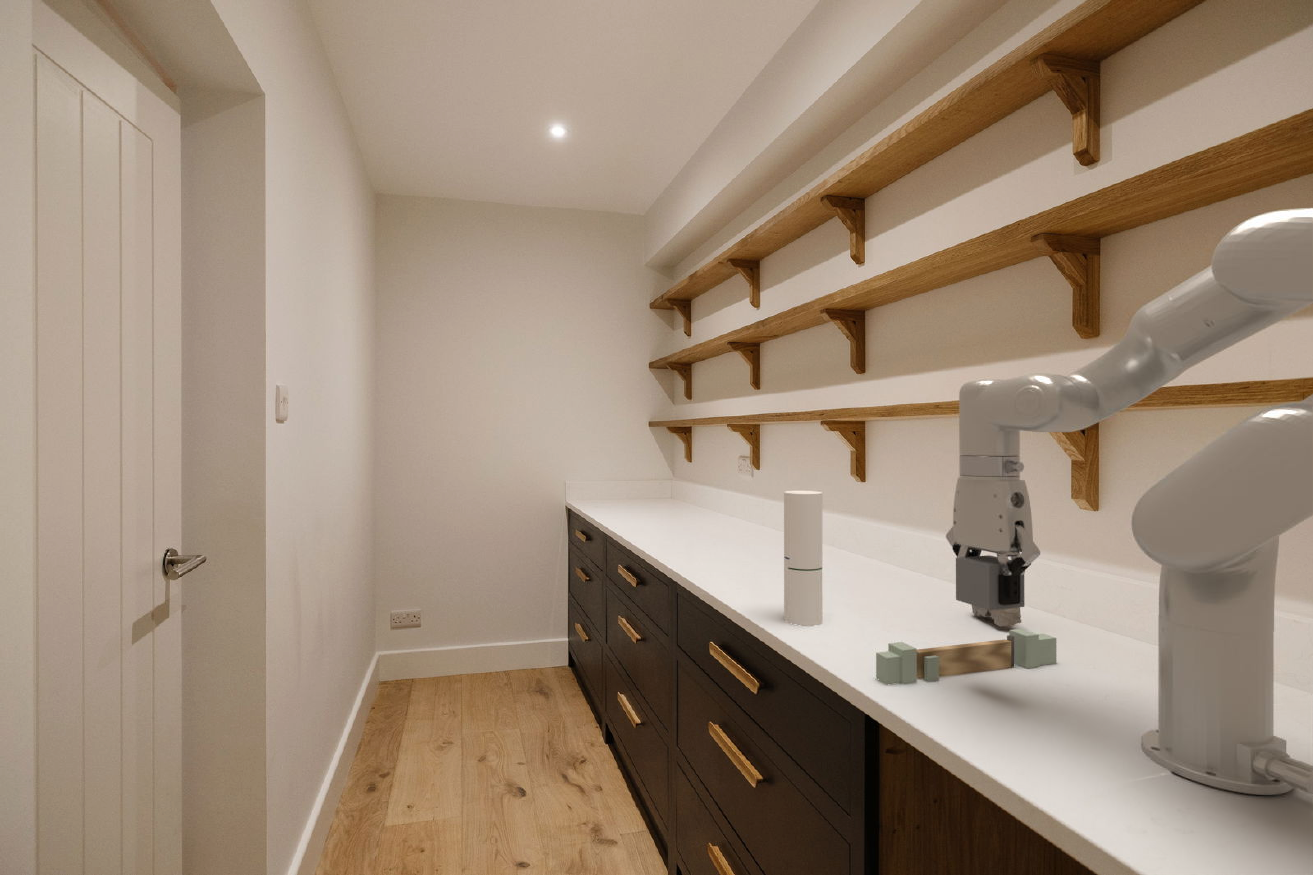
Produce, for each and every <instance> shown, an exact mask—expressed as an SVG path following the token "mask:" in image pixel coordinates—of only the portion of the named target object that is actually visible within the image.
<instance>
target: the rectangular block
mask: <svg viewBox="0 0 1313 875" xmlns="http://www.w3.org/2000/svg"><path fill="white" fill-rule="evenodd" d="M1008 560H1009V563H1011V562H1012V560H1011V559H1009V558H1008ZM998 575H1002V571H1001V567H1000V564H999V561H998V558H997V556H995V555H990V554H989V555H980V556H972V557H959V558H957V557H955V600H956V601H958V602H961V603H964V604H968V605H971V606H972V605H974V606H977V607H980V608H983V609H986V610H999V609H1008V608H1018V607H1020V608H1025V573H1024V574H1023V575H1020V599H1021V601H1020V603H1019V604H1012V605H1001V604H999V592H998Z"/></svg>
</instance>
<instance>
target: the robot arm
mask: <svg viewBox="0 0 1313 875" xmlns="http://www.w3.org/2000/svg"><path fill="white" fill-rule="evenodd" d="M1311 305H1313V207H1304V208H1302V207H1300V208H1299V207H1298V208H1288V209H1279V210H1273V211H1268V212H1265V213H1262V214H1258V215H1255V216H1253V217H1250V218H1248V219H1246V220H1244V221H1242V222H1241V223H1239V224H1238V225H1236V226H1234V227H1233V228H1232V229H1231V230H1230V231H1229V232H1227V234H1225V235H1224V236H1223V237H1222V239H1221V240H1220V241H1219V243H1218V244H1217V245H1216V247H1215V249H1214V251H1213V254H1212V257H1211V265H1209V266H1208V267H1206V268H1205V269H1203V270H1201V271H1199V272H1197V273H1196V274H1194V275H1193V276H1191V277H1189V278H1188V279H1187V280H1184V281H1182V282H1181V283H1180V284H1178V285H1176V286H1175V287H1173V288H1171V289H1170V290H1168V291H1166V292H1165V293H1163V294H1162V295H1160V296H1158V297H1156V298H1155V299H1152V300H1151V301H1149V302H1147V303H1146V304H1145V305H1143V306H1141V307H1140V308H1139V309H1138V310H1137V311H1136V312H1135V313H1134V315H1133V317H1132V318H1131V321H1130V324H1129V325H1128V328H1127V331H1126V333H1125V334H1124V335H1123V337H1122V338H1121V339H1120V340H1119V342H1117V344H1115V345H1114V346H1113V347H1112V348H1110V349H1109V350H1108V351H1106V352H1105V353H1104V354H1102V355H1100V357H1097V358H1096V359H1094V360H1092V361H1091V362H1089V363H1087V364H1086V365H1084V366H1082V367H1081V368H1078V369H1077V370H1075V371H1074V372H1072V373H1070V374H1067V375H1063V374H1062V375H1061V374H1051V373H1050V374H1049V373H1033V374H1027V375H1021V376H1018V377H1012V378H1008V379H981V380H979V379H978V380H972V381H967V382H965V383H964V384H963V385H962V386H961V387H960V389H959V394H958V408H959V410H958V413H959V414H958V415H959V416H958V419H959V422H958V426H959V428H958V429H959V430H958V431H959V432H958V435H959V438H958V439H959V442H958V443H959V446H958V447H959V452H958V453H959V457H958V458H959V459H958V460H959V461H958V462H959V464H958V465H959V468H958V469H959V476H958V477H957V480H956V481H957V482H956V485H955V492H954V500H953V509H952V510H953V512H952V513H953V514H952V516H953V517H952V527H951V528H950V529H949V530H948V531H947V533H946V534H945V539H946V540H947V542H948V543H949V545H950V546H951V547H952V548H951V550H952V551H953V553H954V555H955V556H956V558H959V557H972V556H981V553H982V551H984V552H989V553H993V554H995V555H996V557H997V558H998V561H999V564H1000V567H1001V571H1002V575H998V592H999V604H1001V605H1012V604H1019V603H1020V601H1021V599H1020V575H1023V574H1024V575H1025V572H1026V570H1027V569H1028V568H1029V567H1030V566H1031V565H1032V563H1033V562H1035V561H1036V560H1037V559H1038V558H1039V556H1041V550H1040V548H1039V547H1038V546H1037V545H1036V543H1035V542H1034V534H1033V532H1034V531H1033V519H1032V510H1031V502H1030V496H1029V492H1028V488H1027V484H1026V480H1024V479H1021V472H1023V471H1024V468H1025V465H1024V463H1023V462H1022V461H1021V456H1020V453H1021V450H1020V449H1021V447H1020V446H1021V444H1020V443H1021V438H1020V437H1021V436H1020V434H1021V432H1020V431H1025V432H1032V433H1073V432H1076V431H1077V432H1078V431H1082V430H1084V429H1086V428H1089V427H1091V426H1093V425H1095V424H1098V423H1100V422H1101V421H1103V420H1105V419H1107V418H1109V417H1111V416H1113V415H1116V414H1118V413H1120V412H1121V411H1123V410H1126V409H1128V408H1129V407H1131V406H1132V405H1135V404H1136V403H1138V402H1140V401H1142V400H1143V399H1145V398H1147V397H1148V396H1150V395H1151V394H1153V393H1154V392H1156V391H1157V390H1159V389H1160V388H1163V387H1164V386H1165V385H1167V384H1168V383H1170V382H1173V381H1174V380H1175V379H1177V378H1178V377H1180V375H1182V374H1184V372H1186V371H1187V370H1189V369H1190V368H1192V367H1194V366H1197V365H1198V364H1200V363H1202V362H1204V361H1206V360H1207V359H1210V358H1211V357H1213V356H1215V355H1217V354H1219V353H1220V352H1222V351H1225V350H1227V349H1229V348H1230V347H1233V346H1234V345H1236V344H1238V343H1240V342H1242V341H1244V340H1247V339H1248V338H1250V337H1252V336H1254V335H1255V334H1257V333H1259V332H1261V331H1263V330H1265V329H1267V328H1269V327H1272V326H1273V325H1275V324H1277V323H1279V322H1280V321H1283V320H1284V319H1287V318H1289V317H1290V316H1293V315H1294V314H1296V313H1298V312H1300V311H1302V310H1303V309H1306V308H1307V307H1310V306H1311ZM1312 516H1313V393H1312V394H1311V395H1309V396H1307V397H1306V398H1304V399H1303V400H1301V401H1294V402H1292V401H1291V402H1285V403H1279V404H1276V405H1275V404H1274V405H1272V406H1269V407H1267V408H1263V409H1261V410H1259V411H1256V412H1255V413H1253V414H1251V415H1249V416H1247V417H1246V418H1245V419H1242V420H1241V421H1239V422H1238V423H1236V424H1235V425H1234V426H1232V427H1231V428H1230V429H1228V430H1226V432H1224V433H1223V434H1221V435H1220V436H1219V437H1217V438H1216V439H1215V440H1213V441H1212V442H1210V443H1209V444H1207V446H1205V447H1203V448H1202V449H1201V450H1200V451H1198V452H1197V453H1195V454H1194V455H1193V456H1191V457H1190V458H1189V459H1188V460H1186V461H1185V462H1183V463H1182V464H1180V465H1179V466H1178V467H1176V468H1175V469H1174V470H1172V471H1171V472H1170V473H1168V474H1166V475H1165V476H1164V477H1163V478H1162V479H1160V480H1159V481H1157V482H1156V483H1155V484H1153V486H1151V487H1150V488H1149V489H1147V491H1145V492H1144V493H1143V494H1142V495H1141V497H1140V498H1139V499H1138V501H1137V502H1136V504H1135V506H1134V508H1133V511H1132V515H1131V530H1132V535H1133V537H1134V540H1135V542H1136V544H1137V546H1138V547H1139V548H1140V550H1141V551H1142V553H1144V554H1145V555H1146V556H1147V557H1148V558H1149V559H1151V560H1152V561H1154V562H1156V563H1157V564H1159V565H1161V568H1160V574H1159V588H1158V615H1157V616H1158V619H1157V620H1158V622H1157V623H1158V631H1157V632H1158V635H1157V637H1158V640H1157V641H1158V643H1157V644H1158V646H1157V647H1158V648H1157V649H1158V652H1157V654H1158V657H1157V658H1158V659H1157V660H1158V661H1157V662H1158V666H1157V667H1158V668H1157V669H1158V671H1157V672H1158V675H1157V676H1158V678H1157V679H1158V685H1157V687H1158V708H1157V709H1158V710H1157V711H1158V729H1154V730H1153V729H1152V730H1149V731H1147V732H1145V733H1143V734H1142V736H1141V740H1140V741H1141V745H1140V747H1141V750H1142V752H1143V753H1144V754H1145V756H1147V757H1148V758H1149V759H1150V760H1151V761H1152V762H1154V763H1156V764H1157V765H1159V766H1161V767H1162V768H1164V769H1166V770H1168V771H1171V773H1174V774H1176V775H1178V776H1181V777H1183V778H1185V779H1187V780H1191V781H1194V782H1196V783H1199V784H1203V785H1207V786H1210V787H1211V788H1212V787H1213V788H1216V789H1220V790H1224V791H1225V790H1226V791H1230V792H1235V793H1242V794H1247V795H1248V794H1249V795H1258V796H1259V795H1261V796H1274V795H1282V794H1285V793H1288V792H1290V791H1291V790H1293V789H1294V788H1295V789H1298V790H1300V791H1302V792H1305V793H1308V794H1309V795H1313V765H1312V764H1309V763H1307V762H1304V761H1302V760H1297V759H1295V758H1292V757H1291V756H1290V754H1289V753H1287V740H1286V739H1284V738H1282V737H1281V738H1280V737H1278V736H1275V734H1274V732H1275V730H1274V725H1275V724H1274V722H1275V721H1274V720H1275V719H1274V714H1275V713H1274V709H1275V708H1274V706H1275V705H1274V700H1275V698H1274V690H1275V688H1274V687H1275V686H1274V678H1275V677H1274V676H1275V675H1274V674H1275V673H1274V669H1275V668H1274V667H1275V666H1274V657H1275V656H1274V641H1275V640H1274V637H1275V636H1274V632H1275V594H1276V593H1275V592H1276V591H1275V589H1276V574H1277V566H1278V564H1277V563H1278V557H1279V556H1278V555H1279V544H1280V536H1281V535H1282V534H1284V533H1286V532H1288V531H1290V530H1291V529H1293V528H1294V527H1296V526H1298V525H1299V524H1300V523H1302V522H1304V521H1305V520H1307V519H1309V518H1311V517H1312ZM1009 557H1010V559H1009ZM1008 559H1009V560H1012V562H1011V563H1009V560H1008Z"/></svg>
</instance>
